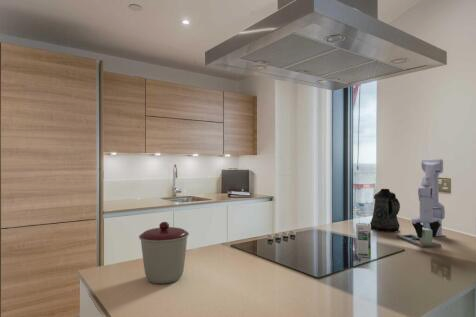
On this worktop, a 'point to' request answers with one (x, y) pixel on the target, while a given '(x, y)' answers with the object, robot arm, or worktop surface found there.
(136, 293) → the worktop surface
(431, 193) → the robot arm
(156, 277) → the canister
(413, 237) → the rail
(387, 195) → the beer stein
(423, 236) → the peg
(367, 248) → the syrup box
